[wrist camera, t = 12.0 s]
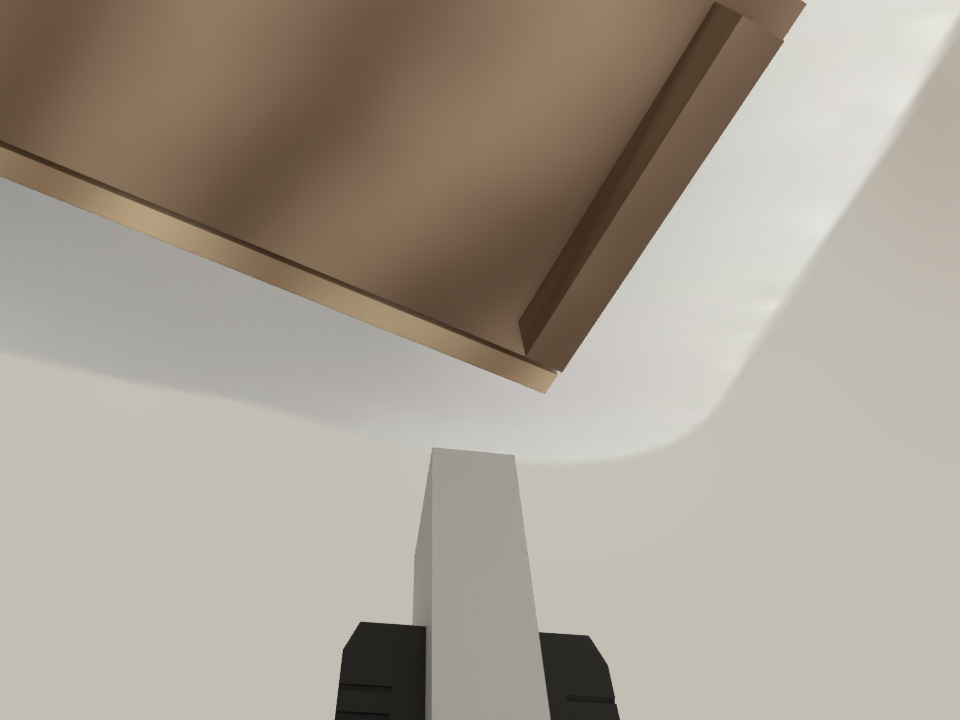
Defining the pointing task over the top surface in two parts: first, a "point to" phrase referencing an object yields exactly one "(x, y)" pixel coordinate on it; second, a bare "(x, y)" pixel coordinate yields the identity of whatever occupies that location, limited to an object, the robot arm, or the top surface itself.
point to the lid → (401, 133)
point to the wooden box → (265, 265)
